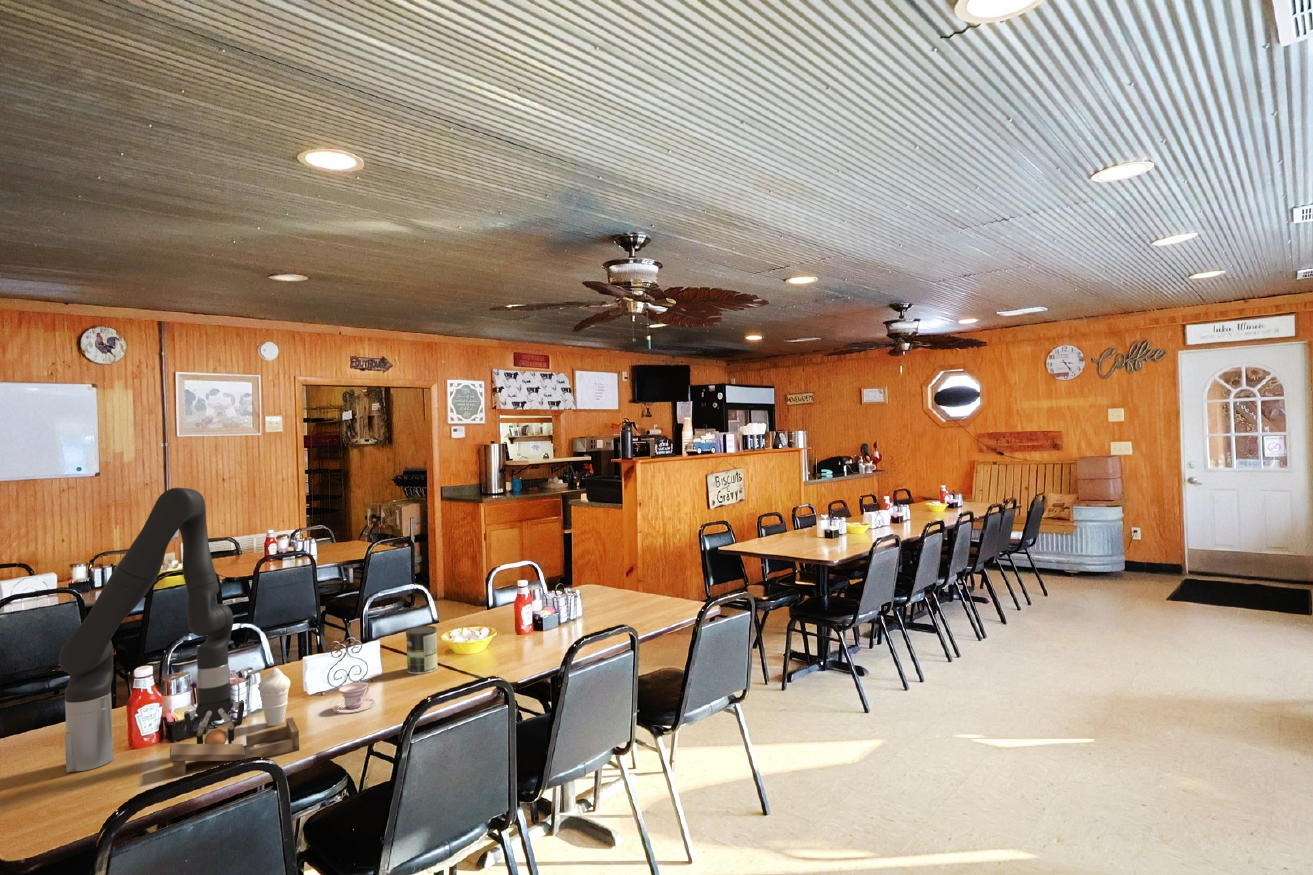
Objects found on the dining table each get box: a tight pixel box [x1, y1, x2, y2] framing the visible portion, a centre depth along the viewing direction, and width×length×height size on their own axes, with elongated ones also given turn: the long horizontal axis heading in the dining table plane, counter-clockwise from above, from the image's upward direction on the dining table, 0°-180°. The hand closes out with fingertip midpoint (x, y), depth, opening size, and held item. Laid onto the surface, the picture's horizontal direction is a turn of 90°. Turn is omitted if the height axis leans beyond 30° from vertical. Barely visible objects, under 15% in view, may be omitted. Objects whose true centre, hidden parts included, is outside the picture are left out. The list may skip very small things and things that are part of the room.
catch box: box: [243, 716, 300, 759], centre depth 190 cm, size 12×12×5 cm
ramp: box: [169, 743, 246, 778], centre depth 183 cm, size 16×8×6 cm, turn 123°
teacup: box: [332, 681, 376, 715], centre depth 219 cm, size 12×12×6 cm
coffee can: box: [405, 625, 439, 675], centre depth 254 cm, size 10×10×14 cm
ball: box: [204, 728, 228, 744], centre depth 192 cm, size 5×5×5 cm
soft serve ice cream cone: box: [258, 667, 291, 727], centre depth 208 cm, size 8×8×16 cm
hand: (216, 745), depth 192 cm, fingers open, 5 cm apart
